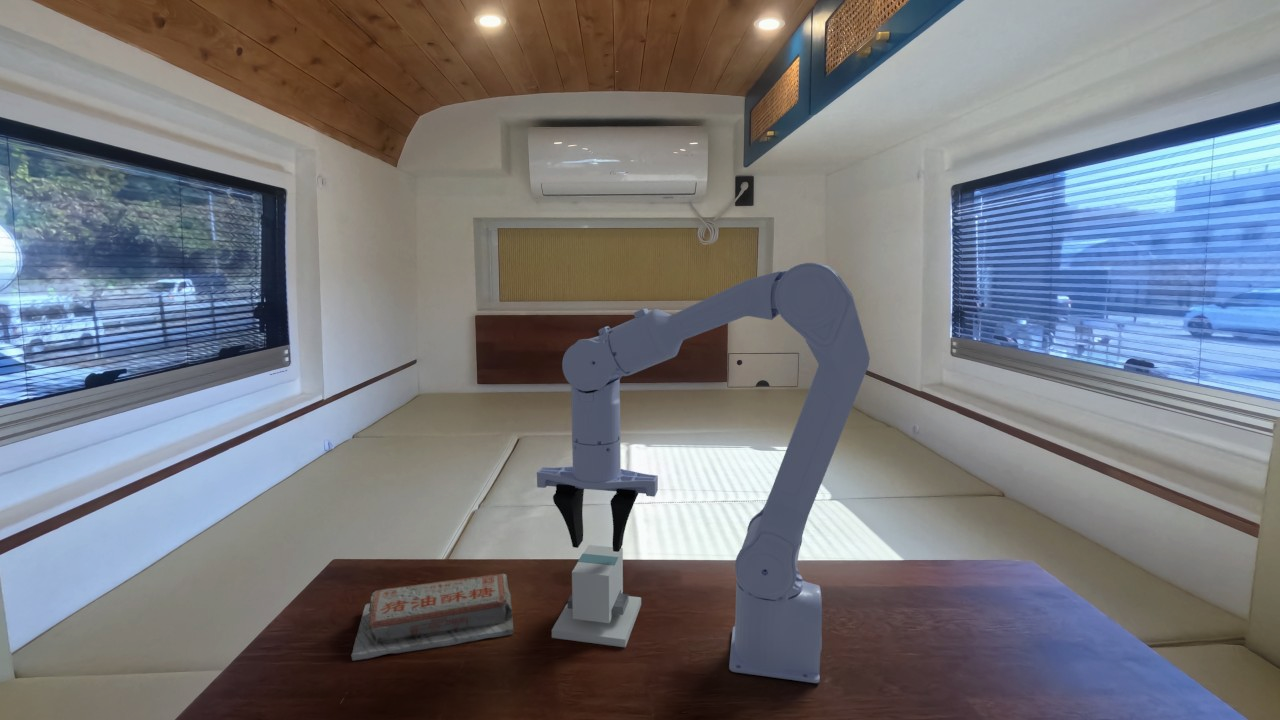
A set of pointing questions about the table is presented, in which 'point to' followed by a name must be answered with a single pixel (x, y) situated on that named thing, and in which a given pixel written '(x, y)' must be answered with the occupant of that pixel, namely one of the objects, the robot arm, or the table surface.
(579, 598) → the block
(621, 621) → the base
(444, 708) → the table surface
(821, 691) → the table surface
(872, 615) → the table surface
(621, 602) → the dark grey flat block
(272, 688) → the table surface
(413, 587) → the packaged product
